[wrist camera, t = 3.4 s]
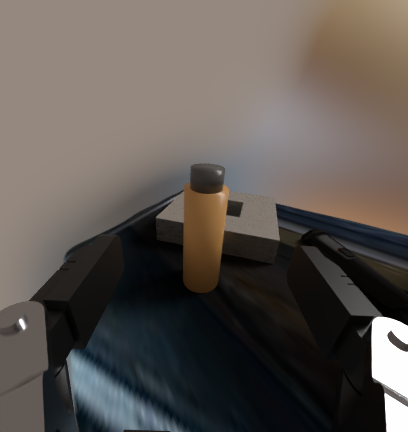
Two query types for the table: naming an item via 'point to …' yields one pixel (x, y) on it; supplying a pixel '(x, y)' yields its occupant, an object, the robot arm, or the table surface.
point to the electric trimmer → (357, 270)
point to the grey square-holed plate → (232, 226)
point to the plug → (204, 226)
